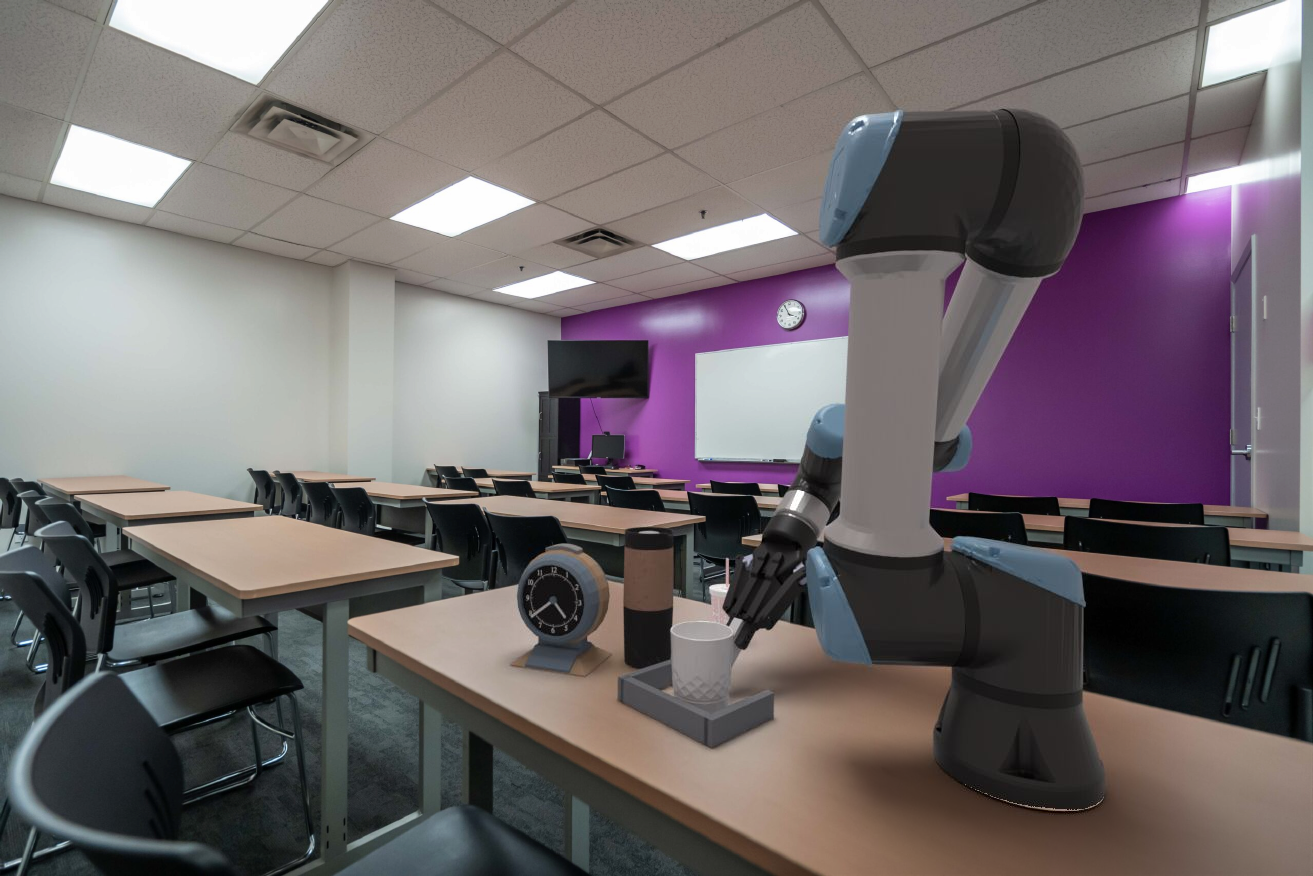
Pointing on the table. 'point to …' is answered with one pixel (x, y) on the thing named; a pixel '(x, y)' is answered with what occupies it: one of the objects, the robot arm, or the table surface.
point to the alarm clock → (563, 610)
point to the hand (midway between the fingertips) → (720, 666)
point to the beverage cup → (719, 599)
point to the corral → (691, 707)
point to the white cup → (702, 663)
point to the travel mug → (648, 595)
